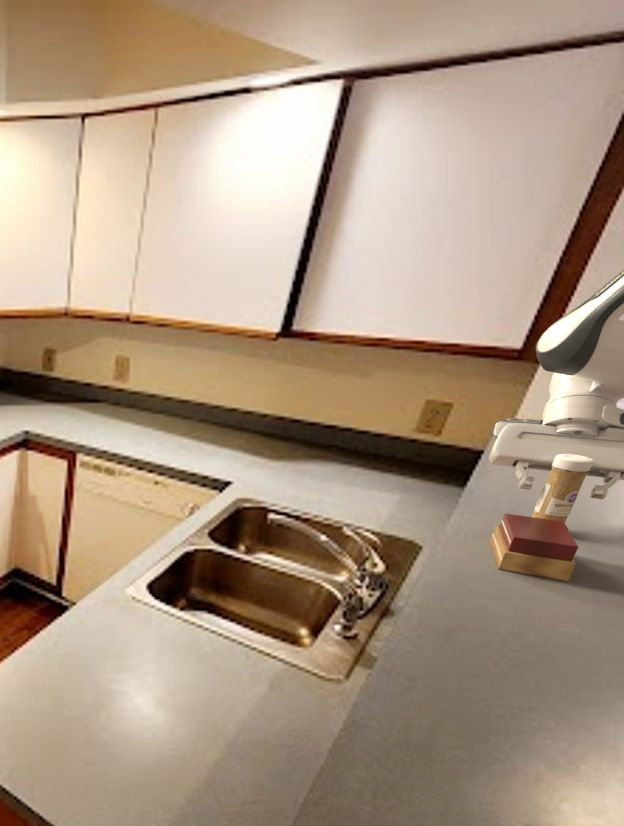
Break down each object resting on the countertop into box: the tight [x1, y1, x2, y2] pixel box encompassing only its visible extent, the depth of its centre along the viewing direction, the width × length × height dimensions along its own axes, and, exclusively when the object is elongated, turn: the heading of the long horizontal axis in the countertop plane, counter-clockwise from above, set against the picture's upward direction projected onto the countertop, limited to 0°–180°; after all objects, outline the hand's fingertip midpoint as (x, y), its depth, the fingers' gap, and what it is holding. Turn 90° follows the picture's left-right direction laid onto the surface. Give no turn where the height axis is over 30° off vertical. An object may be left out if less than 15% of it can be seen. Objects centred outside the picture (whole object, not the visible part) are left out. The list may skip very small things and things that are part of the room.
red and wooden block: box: [489, 513, 579, 582], centre depth 99 cm, size 8×12×6 cm, turn 145°
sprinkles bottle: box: [531, 454, 593, 524], centre depth 107 cm, size 5×5×13 cm
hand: (560, 492), depth 106 cm, fingers open, 8 cm apart
